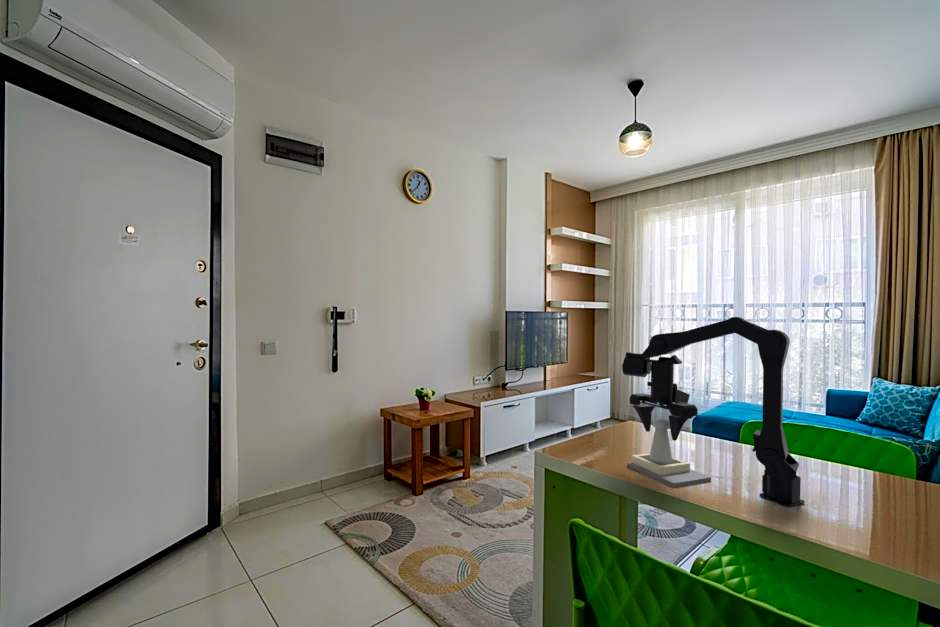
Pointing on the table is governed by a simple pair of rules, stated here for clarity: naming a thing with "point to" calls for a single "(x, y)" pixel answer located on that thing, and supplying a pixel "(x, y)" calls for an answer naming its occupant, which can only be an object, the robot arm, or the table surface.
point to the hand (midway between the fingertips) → (660, 435)
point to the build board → (668, 471)
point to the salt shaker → (661, 443)
